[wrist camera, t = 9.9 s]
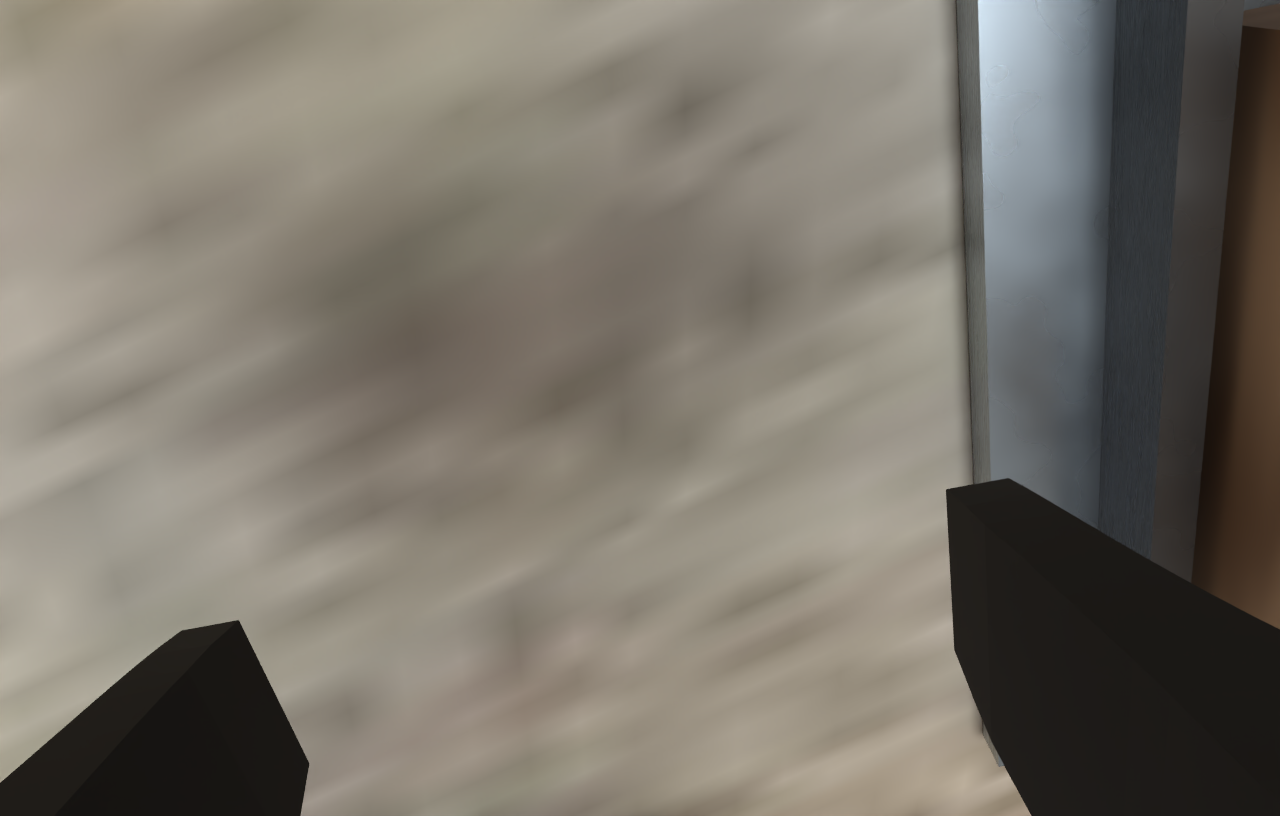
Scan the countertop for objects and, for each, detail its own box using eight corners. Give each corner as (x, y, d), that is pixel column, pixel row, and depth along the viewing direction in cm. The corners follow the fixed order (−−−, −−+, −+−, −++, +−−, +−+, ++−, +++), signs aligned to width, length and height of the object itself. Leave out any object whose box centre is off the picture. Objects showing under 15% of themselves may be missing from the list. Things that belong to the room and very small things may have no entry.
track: (1390, 665, 23) (1495, 761, 20) (983, 735, 23) (1033, 837, 21) (1612, -338, 14) (1855, -406, 11) (949, -192, 14) (1030, -224, 12)
